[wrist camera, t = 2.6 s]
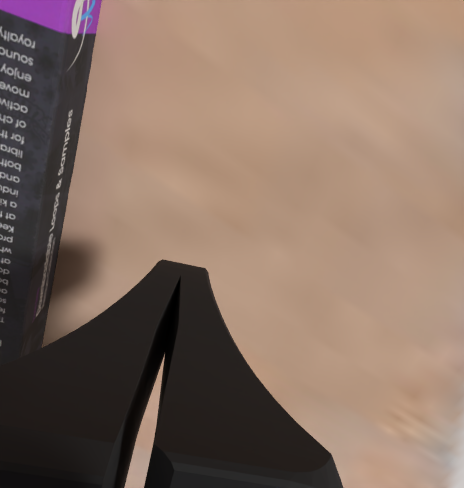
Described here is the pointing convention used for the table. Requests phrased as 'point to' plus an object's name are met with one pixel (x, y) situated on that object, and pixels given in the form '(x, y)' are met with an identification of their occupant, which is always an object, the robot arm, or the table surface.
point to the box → (37, 152)
